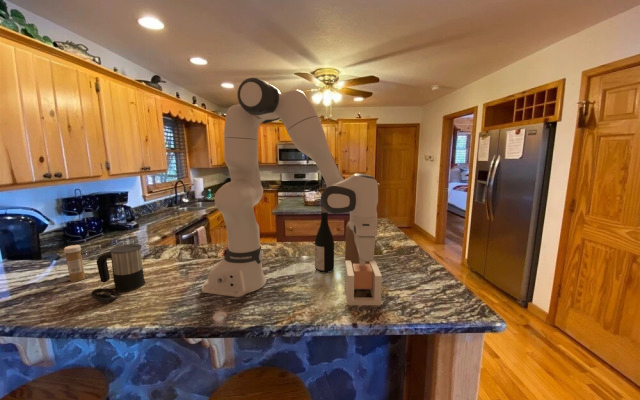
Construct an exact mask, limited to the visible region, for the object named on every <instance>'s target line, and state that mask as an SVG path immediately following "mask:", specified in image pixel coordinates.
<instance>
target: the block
mask: <svg viewBox="0 0 640 400" xmlns="http://www.w3.org/2000/svg"><path fill="white" fill-rule="evenodd" d="M352 268H353V272H354V288H359V289H358V290H370V289H372V282H373V271H372V268H371V265H370V264H365V265H360V264H353V266H352Z"/></svg>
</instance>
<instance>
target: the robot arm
mask: <svg viewBox="0 0 640 400" xmlns="http://www.w3.org/2000/svg"><path fill="white" fill-rule="evenodd" d="M236 97H237V100H238V103H239V104H234V105H231V106H230V107H229V108H228V109H227V111H226V114H225V115H226V116H225V119H224V120H225V121H224V127H223V128H224V130H223V131H224V132H223V135H224V136H223V143H224V145H223V147H224V149H223V150H224V152H223V153H224V163H225V165H226V167H227V168H228V172H229V178H230V181H228V182H226V183H224V184H222V185H221V186H220V187H219V188H218V189H217V191H216V192H215V194H214V205H215V207H216V208H217V210H218V211H219V212H220V213H221V214H222V217H223V220H224V224H225V226H226V232H227V233H226V234H227V246H226V247H225V249H224V250H223V252H222V253H221V257H222V258H223V259H221V260H219V262H217V263H216V264H215V265H214V266H212V268H211V269H210V270H209V272H208V277H207V279H206V280H205V281H204V282H203V284H202V285H201V293H203V294H211V295H219V296H220V295H221V296H225V297H236V298H240V297H243V296H245V295H247V294H248V293H253V292H255V291H258V290H260V289H261V288H263V287H264V286H265V285H266V283H267V280H266V276H265V274H264V270H263V265H262V261H263V260H262V259H263V252H262V246H261V239H260V238H261V237H260V226H259V224H258V222H257V219H256V214H255V212H254V207H255V206H257V205H258V204H259V202H260V201H261V200H262V198H263V194H264V187H263V186H262V180H261V174H260V169H259V168H260V167H259V127H260V124H267V123H271V122H275V121H278V120H281V122H282V123H283V125H284V127H285V129H286V131H287V134H288V136H289V138H290V141H291V142H292V143H293V144H294V146H295V148H297V150H298V151H299V152H301V153H302V154H304V155H305V156H307V157H309V158H310V159H311V160H312V161H313V162H314V164H315V165H316V167H317V169H318V171H319V172H320V174H321V176H322V178H323V180H324V182H325V185H326V188H324V189H323V191H322V193H321V196H320V205H321V204H322V206H323V208H324V209H325V210H326V211H328V213H329V214H345V213H349V221H350V229H351V230H352V231H353V233H354V241H355V244H356V247H357V251H358V254H359V263H360V265H365V262H371V261H374V255H375V249H376V248H375V246H376V237H378V234H379V233H378V232H379V231H378V212H377V207H378V204H379V185H378V181H377V179H376V178H375V177H374V176H373V175H369V174H367V173H359V172H356V173H353V174H352V175H350V176H349V177H347V178H345V177H344V176H343V175H342V174H341V171H340V170H339V169H340V168H339V167H338V165H337V163H336V161H335V159H334V157H333V155H332V152H331V150H330V148H329V143H328V140H327V137H326V134H325V131H324V127H323V125H322V122H321V120H320V118H319V115H318V113H317V110H315V107H314V106H313V104H312V102H311V101H310V99H309V98H308V97H307V96H306V94H305V92H303V91H302V90H301V89H300V90H299V89H291V90H288V91H286V92H284V93H283V92H282V91H280V90H279V89H278V88H277V87H276V86H274V85H273V84H271V83H269V82H267V81H265V80H264V79H262V78H258V77H248V78H245V79H244V80H243V81H242V82H240V84H239V86H238V89H237V96H236Z"/></svg>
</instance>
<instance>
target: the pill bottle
mask: <svg viewBox="0 0 640 400" xmlns="http://www.w3.org/2000/svg"><path fill="white" fill-rule="evenodd" d="M63 250H64V251H63V252H64V253H65V259H66V265H67V270H68V274H69V281H70V282H72V283H73V282H80V281H82V280H84V279H85V278H86V275H85V266H84V262H83V257H82V252H81V250H82V248H81V245H80V244H75V245H68V246H65V247H64V248H63Z"/></svg>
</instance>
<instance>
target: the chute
mask: <svg viewBox="0 0 640 400" xmlns="http://www.w3.org/2000/svg"><path fill="white" fill-rule="evenodd" d="M369 264H370V265H371V268H372V271H373V282H372V289H369V293H370V296H371V297H360V296H359V297H356V296H355V290H360V289H359V288H354V272H353V268H352V263H351V261H344V288H345V289H344V290H345V296H346V297H345V298H346V305H347V306H381V305H382V284H383V283H382V280H383V276H382V273H381V270H380V269H379V267H378V264H377V262H376V260H372V261H371V262H369Z"/></svg>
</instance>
